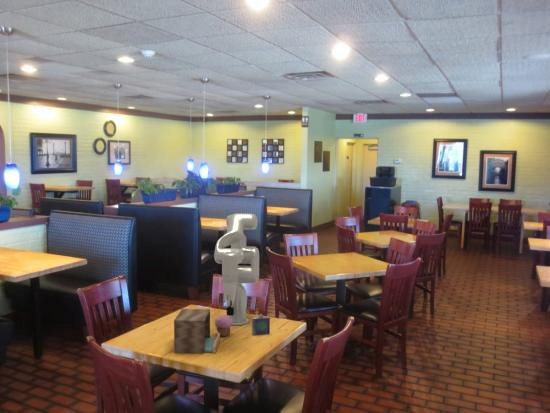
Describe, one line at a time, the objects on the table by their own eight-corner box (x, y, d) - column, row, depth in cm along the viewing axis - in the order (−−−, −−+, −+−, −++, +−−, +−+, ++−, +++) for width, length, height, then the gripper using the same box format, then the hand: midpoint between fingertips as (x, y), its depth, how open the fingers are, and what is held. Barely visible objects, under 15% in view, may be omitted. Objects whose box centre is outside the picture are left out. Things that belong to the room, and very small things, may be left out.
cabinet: (174, 352, 218) (173, 320, 217) (182, 339, 235) (182, 308, 234) (204, 353, 218) (204, 320, 217) (210, 339, 235) (210, 309, 234)
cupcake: (235, 333, 244) (235, 314, 243) (227, 339, 236) (227, 319, 235) (219, 331, 247) (219, 312, 246) (212, 336, 239) (212, 317, 238)
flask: (252, 335, 241) (252, 315, 240) (251, 333, 243) (251, 313, 242) (270, 334, 243) (270, 314, 242) (269, 332, 245) (269, 312, 244)
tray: (176, 352, 218) (176, 345, 218) (184, 338, 235) (184, 332, 235) (215, 353, 218) (214, 346, 218) (220, 339, 235) (220, 333, 235)
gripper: (224, 273, 231) (224, 309, 233) (219, 282, 216) (220, 320, 218) (239, 273, 230) (239, 309, 233) (236, 282, 216) (236, 320, 218)
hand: (230, 314), depth 225 cm, fingers closed
